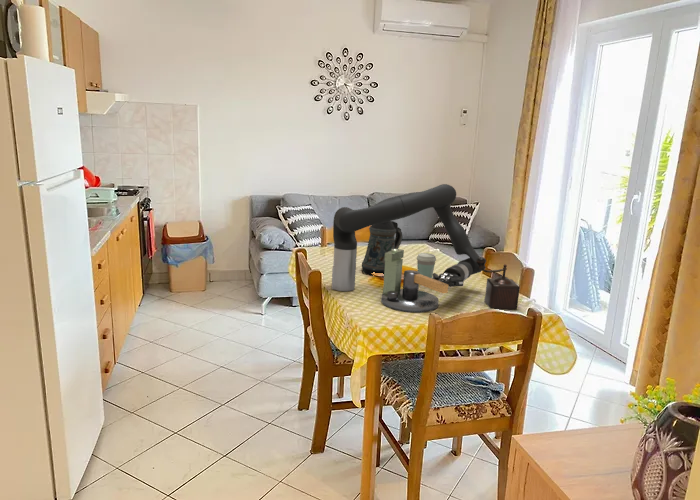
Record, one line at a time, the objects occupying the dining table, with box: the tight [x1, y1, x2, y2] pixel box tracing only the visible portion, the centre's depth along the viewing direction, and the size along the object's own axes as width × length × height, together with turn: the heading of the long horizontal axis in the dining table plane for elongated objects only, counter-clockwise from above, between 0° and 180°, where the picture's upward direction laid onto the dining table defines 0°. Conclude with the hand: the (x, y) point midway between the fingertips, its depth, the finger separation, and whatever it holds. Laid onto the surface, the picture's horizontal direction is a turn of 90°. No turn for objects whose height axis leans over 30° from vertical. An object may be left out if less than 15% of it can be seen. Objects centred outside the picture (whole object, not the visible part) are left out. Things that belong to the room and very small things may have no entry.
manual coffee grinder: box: [476, 256, 520, 311], centre depth 207 cm, size 16×11×18 cm
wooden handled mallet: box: [402, 269, 449, 300], centre depth 199 cm, size 21×6×10 cm, turn 36°
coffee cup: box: [416, 252, 437, 278], centre depth 234 cm, size 9×8×12 cm
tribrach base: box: [380, 248, 440, 314], centre depth 204 cm, size 22×22×20 cm
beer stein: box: [361, 220, 403, 277], centre depth 245 cm, size 16×19×25 cm
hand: (438, 284), depth 194 cm, fingers closed
